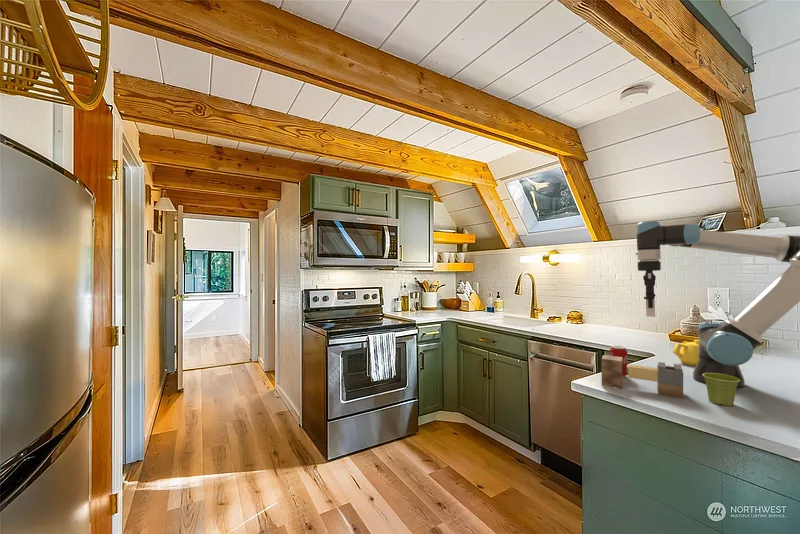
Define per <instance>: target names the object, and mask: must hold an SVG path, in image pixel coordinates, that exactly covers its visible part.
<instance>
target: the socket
mask: <svg viewBox="0 0 800 534" xmlns="http://www.w3.org/2000/svg"><path fill="white" fill-rule="evenodd" d="M622 362H623V357H617V356H610V355H607V354H603V355H602V357H601V386H602V387H603V386H604V387H609V388H614V387H616V389H620V390H621V389H622V388H623V378H622Z"/></svg>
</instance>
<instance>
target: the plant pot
mask: <svg viewBox="0 0 800 534" xmlns="http://www.w3.org/2000/svg"><path fill="white" fill-rule="evenodd" d="M702 375H703V377H704V379H705V381H706V383H705V385H706V390H707V397H708V400H709V402H710V403H713V404H715V405H720V404H721V405H722V406H727V407H728V406H729V407H732V406H734V404H735V398H736V393H737V385H738V382H740V379H739V378H736V377H733V376H729V375H724V374H717V373H703V374H702Z"/></svg>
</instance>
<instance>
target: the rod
mask: <svg viewBox="0 0 800 534" xmlns="http://www.w3.org/2000/svg"><path fill="white" fill-rule="evenodd" d="M666 370H669V369H666ZM674 371H675V370H674ZM626 375H627V377H628V379H637V380H642V381H643V380H644V381H647V382H648V381H650V382H656V383H657V382H658V368H657V367H654V366H653V367H651V366H643V365H637V364H628V363H627V366H626Z"/></svg>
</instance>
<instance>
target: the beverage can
mask: <svg viewBox="0 0 800 534" xmlns="http://www.w3.org/2000/svg"><path fill="white" fill-rule="evenodd" d="M609 356H617V357H623V362H622V379H623V378H626V377H628V375H626V366H628V350H627V348H626V347H625V346H621V345H611V346H610V348H609Z"/></svg>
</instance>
